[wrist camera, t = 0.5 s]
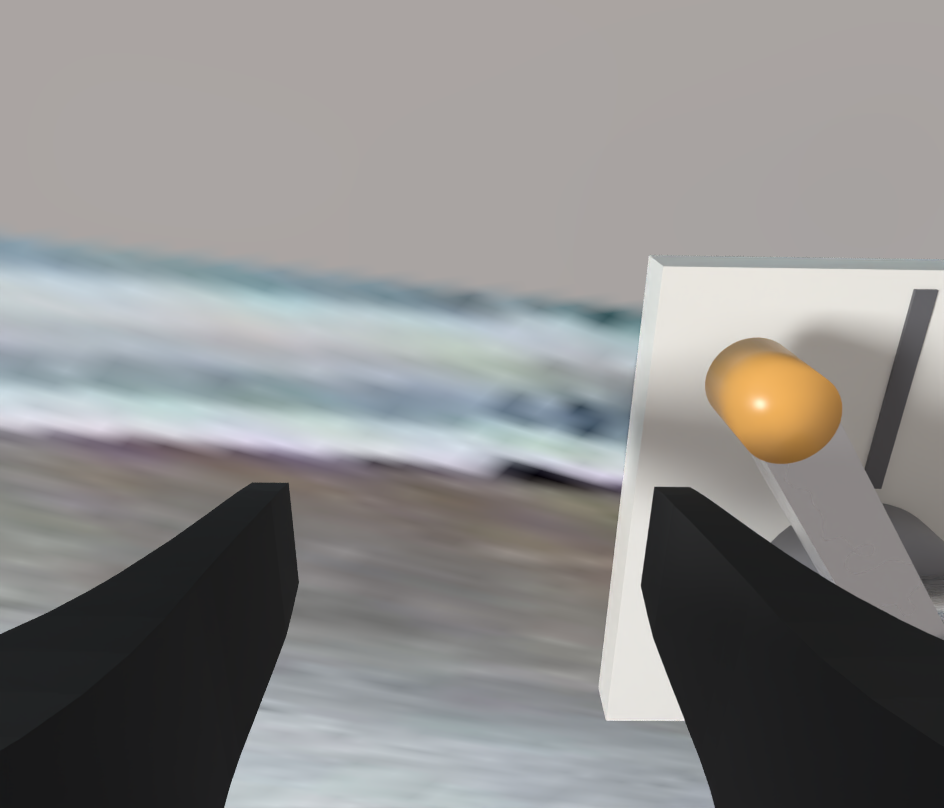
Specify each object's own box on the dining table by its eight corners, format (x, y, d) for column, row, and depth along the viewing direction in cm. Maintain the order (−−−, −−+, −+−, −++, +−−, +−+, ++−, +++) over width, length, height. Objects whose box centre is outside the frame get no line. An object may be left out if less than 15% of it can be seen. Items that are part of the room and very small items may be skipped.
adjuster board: (971, 689, 26) (1068, 800, 22) (598, 687, 26) (623, 799, 21) (1143, 262, 19) (1326, 303, 15) (649, 254, 19) (699, 295, 15)
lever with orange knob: (1035, 679, 19) (1109, 752, 17) (845, 760, 20) (891, 839, 18) (847, 272, 15) (915, 301, 12) (617, 407, 16) (642, 456, 14)
